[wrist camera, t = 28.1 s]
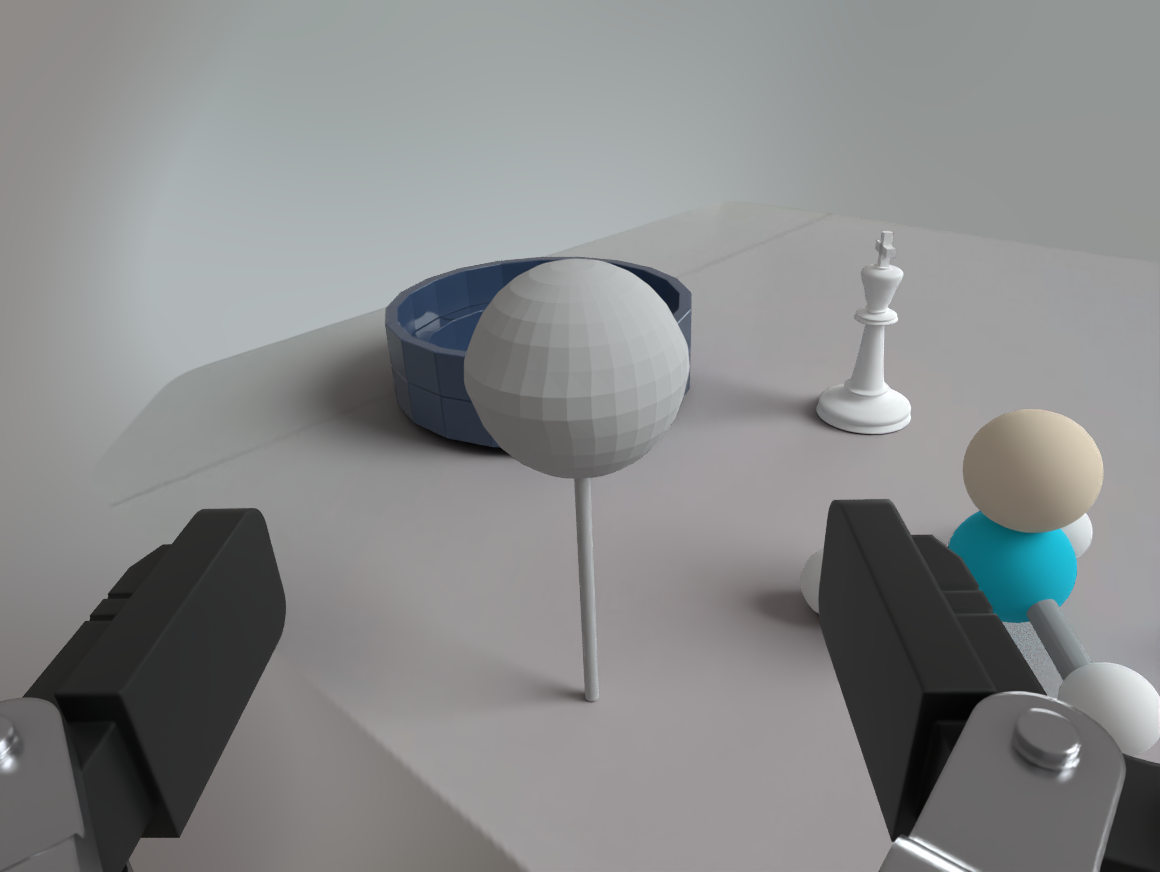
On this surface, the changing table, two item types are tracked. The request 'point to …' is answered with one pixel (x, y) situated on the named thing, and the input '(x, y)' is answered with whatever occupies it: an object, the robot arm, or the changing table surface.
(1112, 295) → the changing table surface
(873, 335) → the chess piece
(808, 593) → the molecule model
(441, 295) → the bowl
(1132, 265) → the changing table surface
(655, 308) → the lollipop
